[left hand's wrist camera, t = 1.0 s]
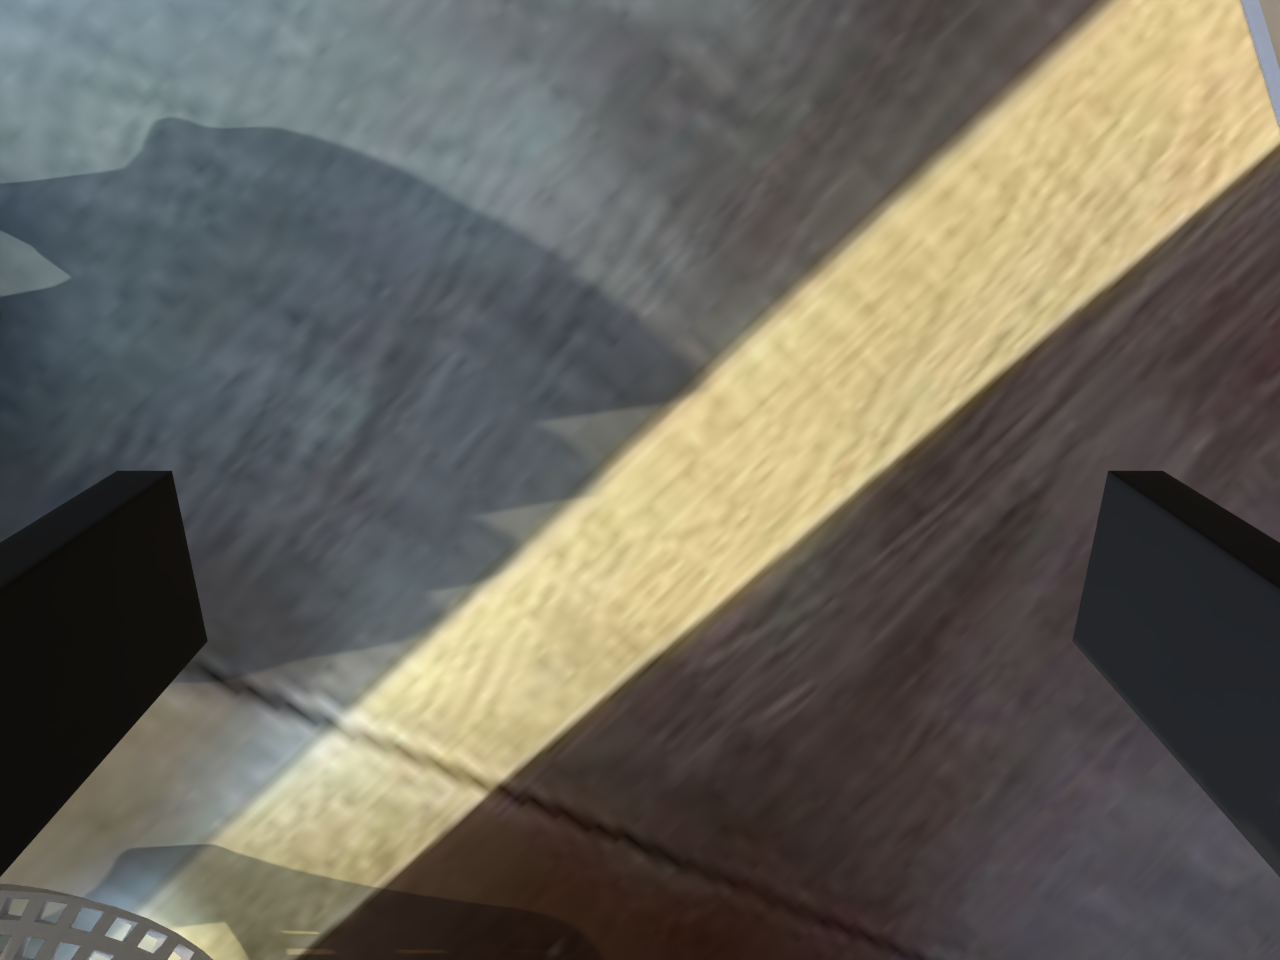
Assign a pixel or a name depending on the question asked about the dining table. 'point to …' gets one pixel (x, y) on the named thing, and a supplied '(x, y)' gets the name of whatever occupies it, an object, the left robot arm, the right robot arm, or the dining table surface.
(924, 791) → the dining table surface
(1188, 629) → the left robot arm
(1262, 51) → the cabinet
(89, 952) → the decorative object
